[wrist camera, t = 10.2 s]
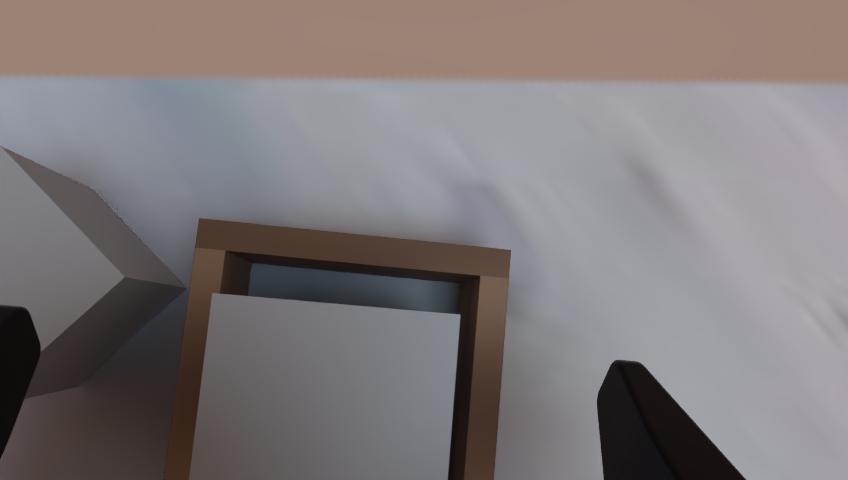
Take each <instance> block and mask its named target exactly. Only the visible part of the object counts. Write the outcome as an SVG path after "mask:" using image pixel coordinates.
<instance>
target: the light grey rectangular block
mask: <svg viewBox="0 0 848 480" xmlns="http://www.w3.org/2000/svg"><path fill="white" fill-rule="evenodd" d="M459 328H460V314H449V313H437V312H426V311H414V310H403V309H391V308H380V307H368V306H357V305H345V304H334V303H322V302H310V301H299V300H287V299H276V298H264V297H253V296H241V295H230V294H218V293H212V300H211V308H210V316H209V324H208V332H207V340H206V348H205V356H204V364H203V372H202V380H201V388H200V396H199V404H198V412H197V420H196V428H195V436H194V444H193V452H192V460H191V468H190V476H189V480H448V469H449V456H450V444H451V431H452V418H453V405H454V392H455V379H456V366H457V353H458V340H459Z"/></svg>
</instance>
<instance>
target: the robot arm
mask: <svg viewBox="0 0 848 480" xmlns="http://www.w3.org/2000/svg"><path fill="white" fill-rule="evenodd" d="M40 354H41V345H40V341H39V338H38V335H37V332H36V329H35V326H34V323H33V321H32V318H31V315H30V313H29V311H28V310H27V309H26V308H25V307H22V306H11V305H0V458H1V456H2V454H3V452H4V450H5V447H6V445H7V442H8V440H9V438H10V435H11V432H12V430H13V427H14V424H15V422H16V419H17V417H18V414H19V411H20V409H21V406H22V403H23V401H24V398H25V395H26V393H27V390H28V388H29V385H30V382H31V380H32V377H33V374H34V372H35V369H36V366H37V364H38V361H39V358H40ZM597 410H598V421H599V431H600V442H601V453H602V463H603V474H604V480H746V479H745V478H744V477H743V476H742V475H741V473H740V472H739V471H738V470H737V469H736V468H735V467H734V466H733V465H732V463H731V462H730V461H729V460H728V459H727V458H726V457H725V456H724V455H723V453H722V452H721V451H720V450H719V449H718V448H717V447H716V446H715V445H714V443H713V442H712V441H711V440H710V439H709V438H708V437H707V436H706V434H705V433H704V432H703V431H702V430H701V429H700V428H699V427H698V426H697V424H696V423H695V422H694V421H693V420H692V419H691V418H690V417H689V416H688V414H687V413H686V412H685V411H684V410H683V409H682V408H681V407H680V406H679V404H678V403H677V402H676V401H675V400H674V399H673V398H672V397H671V395H670V394H669V393H668V392H667V391H666V390H665V389H664V388H663V387H662V385H661V384H660V383H659V382H658V381H657V380H656V379H655V378H654V377H653V375H652V374H651V373H650V372H649V371H648V370H647V369H646V368H645V367H644V366H643V365H642V364H641V363H639V362H636V361H625V360H615V361H614V362H613V363H612V364H611V366H610V368H609V370H608V372H607V375H606V377H605V379H604V381H603V383H602V386H601V388H600V390H599V393H598V398H597Z"/></svg>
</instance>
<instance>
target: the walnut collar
mask: <svg viewBox="0 0 848 480" xmlns="http://www.w3.org/2000/svg"><path fill="white" fill-rule="evenodd" d="M510 257H511V250H505V249H496V248H486V247H476V246H466V245H456V244H446V243H437V242H427V241H417V240H407V239H397V238H387V237H378V236H368V235H358V234H348V233H338V232H328V231H318V230H309V229H299V228H289V227H279V226H269V225H259V224H250V223H240V222H230V221H220V220H210V219H200V218H199V224H198V231H197V238H196V246H195V253H194V260H193V268H192V275H191V282H190V289H189V297H188V304H187V311H186V319H185V326H184V333H183V341H182V348H181V355H180V362H179V370H178V377H177V384H176V392H175V399H174V406H173V414H172V421H171V428H170V435H169V443H168V450H167V457H166V465H165V472H164V479H163V480H189V476H190V468H191V460H192V452H193V444H194V436H195V428H196V420H197V412H198V404H199V396H200V388H201V380H202V372H203V364H204V356H205V348H206V340H207V332H208V324H209V316H210V308H211V300H212V293H218V294H230V295H241V296H248V288H249V280H250V272H251V264H252V263H258V264H268V265H279V266H289V267H299V268H309V269H320V270H330V271H340V272H350V273H361V274H371V275H381V276H391V277H402V278H412V279H422V280H432V281H443V282H453V283H461V287H460V298H459V310H458V314H460V328H459V340H458V353H457V366H456V379H455V392H454V405H453V418H452V431H451V444H450V456H449V469H448V480H494V468H495V454H496V441H497V428H498V415H499V402H500V389H501V375H502V362H503V349H504V336H505V323H506V309H507V296H508V283H509V270H510Z"/></svg>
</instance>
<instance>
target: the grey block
mask: <svg viewBox="0 0 848 480" xmlns="http://www.w3.org/2000/svg"><path fill="white" fill-rule="evenodd" d="M185 289H186V287H185V286H184V285H183V283H182V282H181V281H180V280H179V279H178V278H177V277H176V276H175V275H174V274H173V273H172V272H171V271H170V270H169V269H168V268H167V267H166V266H165V265H164V264H163V262H162V261H161V260H160V259H159V258H158V257H157V256H156V255H155V254H154V253H153V252H152V251H151V250H150V249H149V248H148V247H147V246H146V245H145V244H144V243H143V241H142V240H141V239H140V238H139V237H138V236H137V235H136V234H135V233H134V232H133V231H132V230H131V229H130V228H129V227H128V226H127V225H126V224H125V223H124V221H123V220H122V219H121V218H120V217H119V216H118V215H117V214H116V213H115V212H114V211H113V210H112V209H111V208H110V207H109V206H108V205H107V204H106V203H105V202H104V200H103V199H102V198H101V197H100V196H99V195H98V194H97V193H96V192H95V191H94V190H93V189H91V188H89V187H87V186H84V185H82V184H80V183H78V182H76V181H74V180H72V179H70V178H67V177H65V176H63V175H61V174H59V173H57V172H55V171H53V170H50V169H48V168H46V167H44V166H42V165H40V164H38V163H36V162H33V161H31V160H29V159H27V158H25V157H23V156H21V155H18V154H16V153H14V152H12V151H10V150H8V149H6V148H4V147H1V146H0V305H11V306H22V307H25V308H26V309H27V310H28V311H29V313H30V315H31V318H32V321H33V323H34V326H35V329H36V332H37V335H38V338H39V341H40V345H41V354H40V358H39V361H38V364H37V366H36V369H35V372H34V374H33V377H32V380H31V382H30V385H29V388H28V390H27V393H26V395H25V398H30V397H34V396H39V395H43V394H47V393H52V392H56V391H61V390H65V389H69V388H74V387H78V386H79V385H81V384H82V383H83V382H84V381H85V380H86V379H87V378H88V377H89V376H90V375H92V374H93V373H94V372H95V371H96V370H97V369H98V368H99V367H100V366H101V365H103V364H104V363H105V362H106V361H107V360H108V359H109V358H110V357H111V356H112V355H114V354H115V353H116V352H117V351H118V350H119V349H120V348H121V347H122V346H123V345H125V344H126V343H127V342H128V341H129V340H130V339H131V338H132V337H133V336H134V335H135V334H137V333H138V332H139V331H140V330H141V329H142V328H143V327H144V326H145V325H146V324H148V323H149V322H150V321H151V320H152V319H153V318H154V317H155V316H156V315H157V314H159V313H160V312H161V311H162V310H163V309H164V308H165V307H166V306H167V305H168V304H170V303H171V302H172V301H173V300H174V299H175V298H176V297H177V296H178V295H179V294H181V293H182V292H183V291H184V290H185ZM25 398H24V399H25Z"/></svg>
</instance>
